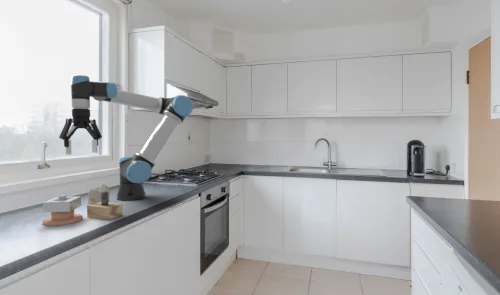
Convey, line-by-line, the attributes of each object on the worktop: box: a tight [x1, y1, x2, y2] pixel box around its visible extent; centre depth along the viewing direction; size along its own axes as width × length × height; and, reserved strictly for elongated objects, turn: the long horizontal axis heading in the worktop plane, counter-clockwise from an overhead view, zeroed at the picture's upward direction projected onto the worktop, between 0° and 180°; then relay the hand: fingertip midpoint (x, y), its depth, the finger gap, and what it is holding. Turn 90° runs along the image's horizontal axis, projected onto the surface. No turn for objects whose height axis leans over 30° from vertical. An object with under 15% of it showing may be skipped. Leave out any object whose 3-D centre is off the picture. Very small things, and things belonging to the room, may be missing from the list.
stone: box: [87, 183, 111, 205], centre depth 143 cm, size 10×5×12 cm, turn 142°
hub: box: [42, 194, 84, 227], centre depth 122 cm, size 14×14×10 cm
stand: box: [86, 192, 123, 221], centre depth 129 cm, size 8×12×10 cm, turn 67°
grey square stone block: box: [42, 195, 82, 213], centre depth 122 cm, size 10×10×4 cm
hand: (82, 153), depth 141 cm, fingers open, 13 cm apart
